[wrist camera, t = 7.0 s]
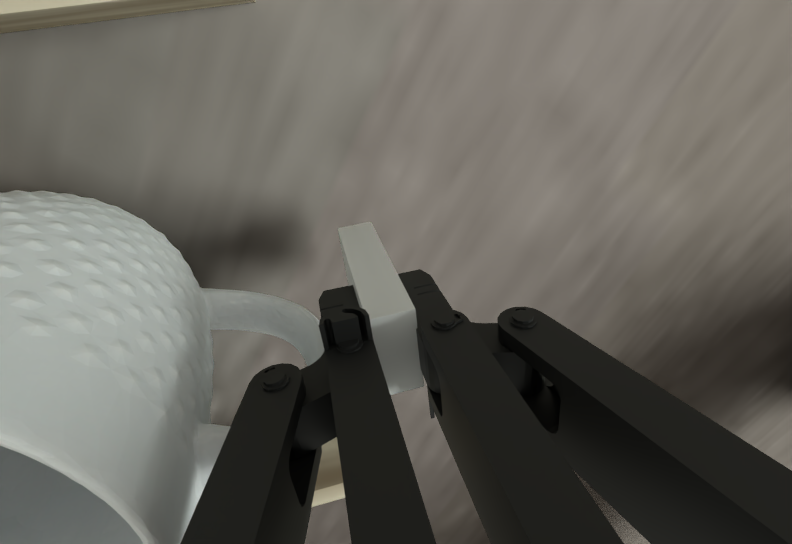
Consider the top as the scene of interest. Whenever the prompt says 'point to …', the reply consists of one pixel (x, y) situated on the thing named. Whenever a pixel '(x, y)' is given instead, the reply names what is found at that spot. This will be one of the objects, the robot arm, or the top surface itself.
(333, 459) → the corral
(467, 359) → the robot arm
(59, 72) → the top surface
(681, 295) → the top surface
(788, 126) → the top surface
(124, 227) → the mug
